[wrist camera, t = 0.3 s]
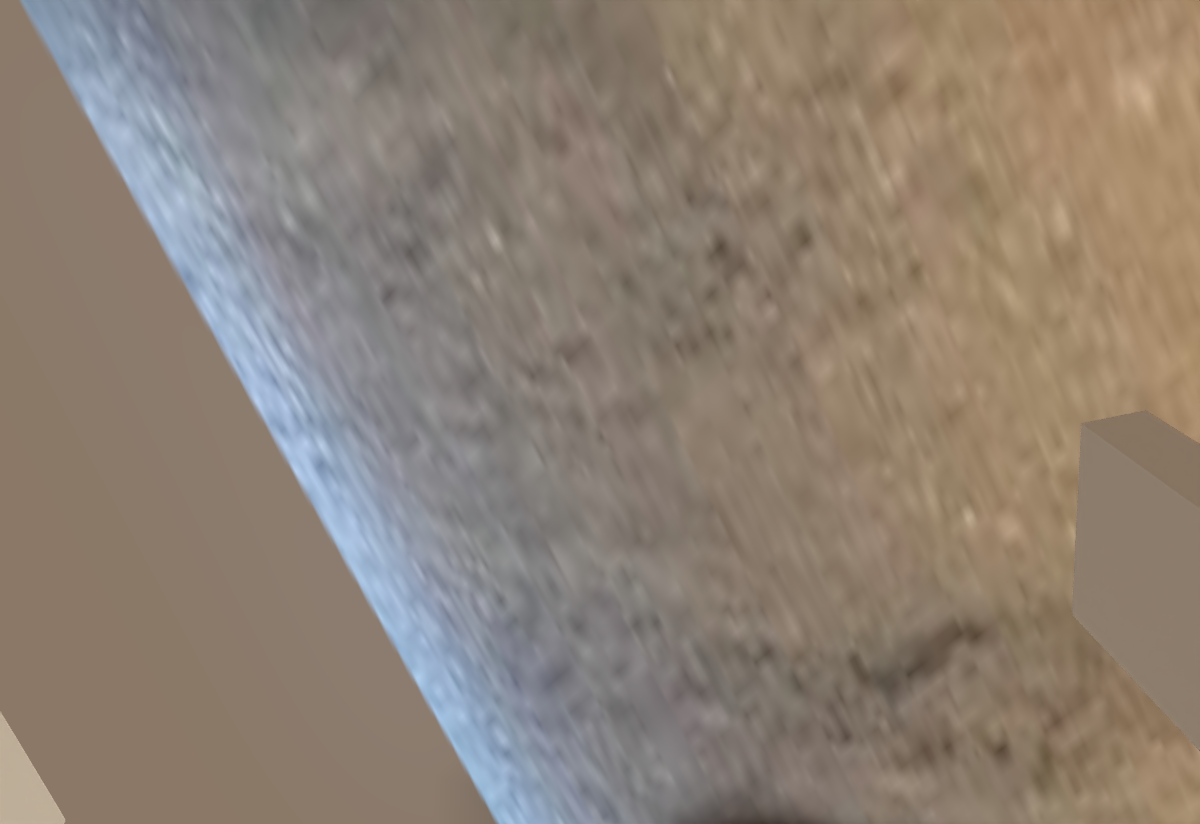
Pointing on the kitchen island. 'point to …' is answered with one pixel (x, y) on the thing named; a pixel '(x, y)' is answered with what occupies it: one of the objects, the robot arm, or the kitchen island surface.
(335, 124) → the kitchen island surface
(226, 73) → the kitchen island surface
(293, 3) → the kitchen island surface
